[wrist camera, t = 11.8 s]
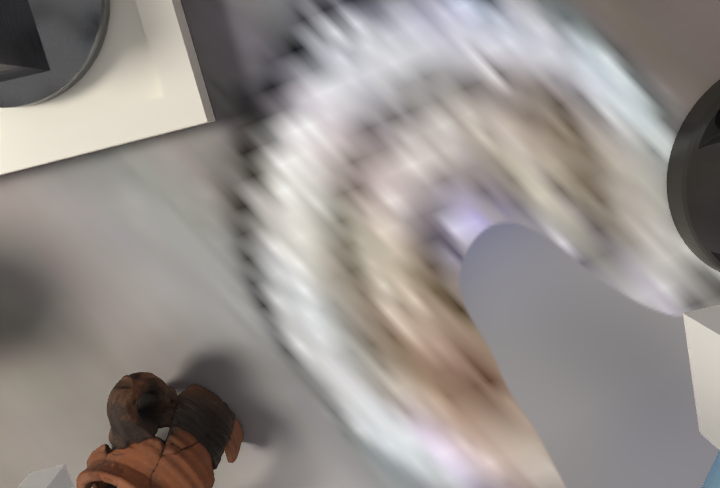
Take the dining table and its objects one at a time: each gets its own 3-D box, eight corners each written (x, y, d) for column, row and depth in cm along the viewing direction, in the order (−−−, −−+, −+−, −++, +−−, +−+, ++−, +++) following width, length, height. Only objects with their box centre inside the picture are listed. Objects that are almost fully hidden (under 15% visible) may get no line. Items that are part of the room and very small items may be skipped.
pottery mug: (269, 466, 45) (208, 572, 39) (169, 452, 49) (99, 545, 43) (210, 336, 40) (127, 434, 33) (102, 332, 44) (10, 419, 37)
